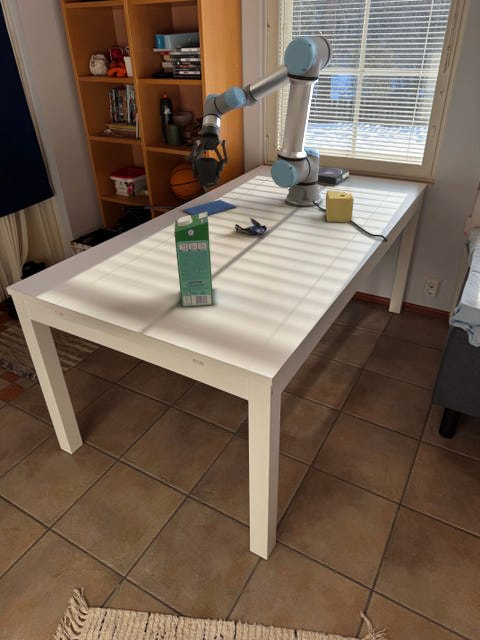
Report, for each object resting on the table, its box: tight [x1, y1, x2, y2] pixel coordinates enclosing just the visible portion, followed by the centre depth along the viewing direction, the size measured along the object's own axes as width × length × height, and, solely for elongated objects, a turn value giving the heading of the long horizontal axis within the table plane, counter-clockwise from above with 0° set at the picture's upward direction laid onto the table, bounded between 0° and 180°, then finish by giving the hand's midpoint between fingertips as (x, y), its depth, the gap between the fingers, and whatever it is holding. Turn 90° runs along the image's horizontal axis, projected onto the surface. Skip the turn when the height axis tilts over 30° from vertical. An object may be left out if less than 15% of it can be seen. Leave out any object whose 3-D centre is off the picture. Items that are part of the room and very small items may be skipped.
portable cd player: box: [318, 165, 350, 186], centre depth 241 cm, size 16×17×4 cm
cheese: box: [325, 190, 355, 223], centre depth 191 cm, size 10×11×10 cm
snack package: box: [234, 217, 268, 236], centre depth 180 cm, size 12×6×12 cm
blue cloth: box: [182, 199, 237, 216], centre depth 206 cm, size 12×20×1 cm, turn 128°
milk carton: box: [173, 211, 214, 307], centre depth 132 cm, size 9×9×25 cm
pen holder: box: [196, 157, 220, 188], centre depth 198 cm, size 9×9×10 cm
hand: (206, 177), depth 196 cm, fingers closed on pen holder, 9 cm apart
